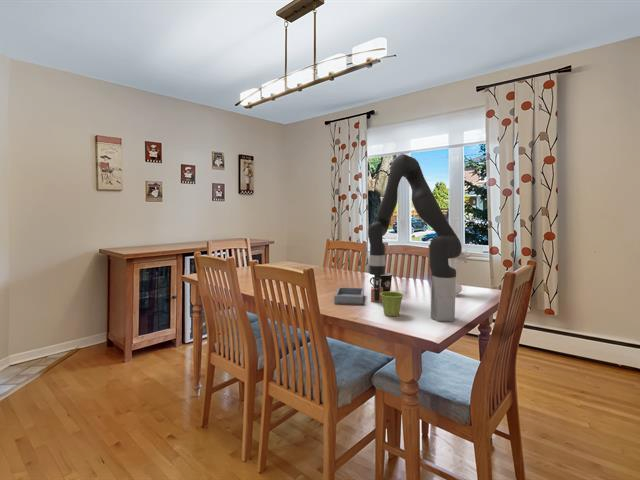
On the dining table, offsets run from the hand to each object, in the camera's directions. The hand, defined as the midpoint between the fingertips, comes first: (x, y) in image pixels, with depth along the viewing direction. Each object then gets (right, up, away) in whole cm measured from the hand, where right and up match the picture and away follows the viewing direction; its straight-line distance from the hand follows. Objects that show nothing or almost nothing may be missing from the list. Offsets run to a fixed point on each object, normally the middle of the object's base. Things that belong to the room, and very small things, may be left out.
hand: (376, 298), depth 170 cm
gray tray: (-13, -1, +2) cm, 13 cm away
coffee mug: (+4, 0, +15) cm, 16 cm away
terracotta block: (0, -1, 0) cm, 1 cm away
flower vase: (+40, 0, +12) cm, 42 cm away
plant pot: (+2, -3, -23) cm, 23 cm away
